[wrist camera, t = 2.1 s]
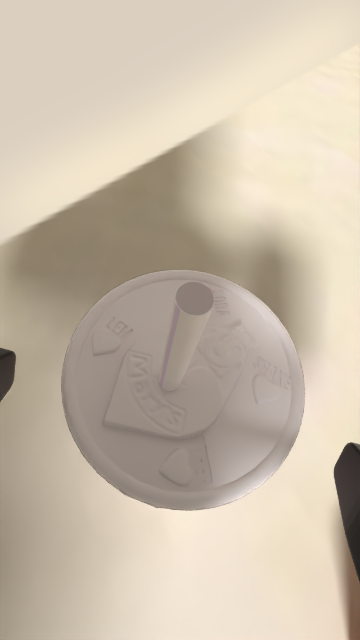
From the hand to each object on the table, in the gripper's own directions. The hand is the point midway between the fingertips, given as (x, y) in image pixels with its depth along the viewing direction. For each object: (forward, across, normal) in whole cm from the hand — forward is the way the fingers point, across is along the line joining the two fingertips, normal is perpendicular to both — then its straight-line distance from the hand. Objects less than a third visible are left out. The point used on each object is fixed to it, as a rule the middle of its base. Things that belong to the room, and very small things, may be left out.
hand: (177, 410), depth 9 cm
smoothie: (+7, 0, +6) cm, 9 cm away
